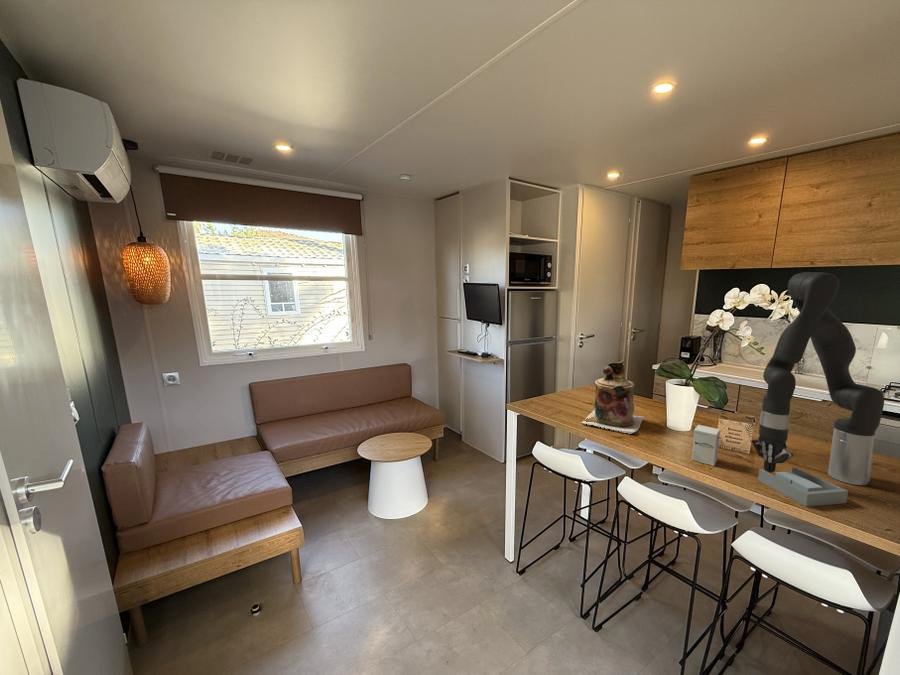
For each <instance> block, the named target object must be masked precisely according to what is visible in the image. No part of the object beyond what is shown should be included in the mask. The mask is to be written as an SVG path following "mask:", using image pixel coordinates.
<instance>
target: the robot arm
mask: <svg viewBox="0 0 900 675" xmlns="http://www.w3.org/2000/svg"><path fill="white" fill-rule="evenodd" d="M839 280H840V279H839V278H838V277H837V276H836V275H835V274H833V273H830V272H814V271H812V272H811V271H804V272H799V273H796V274H794V275H793V276H792V277H791V278H790V279H789V281H788V282H787V291H788V292H787V293H788V295H789V296H790V299H791V300H792V302H793V304H794V305H795V307H796V309H797V310H798V312H799V313H798V315H797V316H796V317H795V318H794V320H793V321H792V322H791V323H789V325H788V326H787V327H786V328H785V329H784V330H783V332H782V333H781V334H780V336H779V338H778V340H777V344H776V346H775V349H774V351H773V355H772V356H771V358H770V359H769V361H768V363H767V365H766V367H765V369H764V371H763V376H762V377H763V380H764V382H765V384H767V388H766V389H767V391H766V394H765V395H764V396H763V399H762V407H761V412H760V416H759V425H758V426H759V427H758V435H759V436H758V438H756V439H752V440H751V443H752V446H753V447H754V449H755V451H756V453H757V455H758V457H760V458H762V459H763V460H764V462H763V470H764V471H766V472H768V473H770V474H772V473H774V472H775V471H776V468H777V467H776V466H777V464H783V463H784V462H786V461H788V460H790V459H791V458H793V457H794V454H793V453H792V452H789V451H788V450H787V444H786V442H787V440H788V436H789V429H790V427H789V426H790V410H791V400H792V399H793V396H794V393H795V389H796V386H797V385H796V383H797V382H796V377H795V375H794V374H793V373H792V372H793V369H794V367H795V365H796V364H799V363H800V362H801V360H802V358H803V356H804V353H805V351H806V348H807V346H808V343H809V341H810V340H811V343H812V346H813V348H814V350H815V353H816V355H817V357H818V359H819V362H820V364H821V368H822V370H823V374H824V376H825V380H826V385H827V389H828V393H829V396H830V399H831V401H832V402H833V404H834V405H836V406H837V407H840V408H841V409H845V410H848V411H851V414H850V417H849V418H844V417H843V418H837V419H835V420H834V424H833V433H832V439H831V440H832V442H831V449H830V455H829V456H830V457H829V464H828V471H827V472H828V473H827V474H828V475H829V476H830V477H831V478H833V479H835V480H836V481H840V482H843V483H846V484H850V485H857V486H867V485H868V483H870V481H871V478H872V477H871V476H872V468H873V462H874V455H873V449H874V442H875V435H876V431H877V429H878V428H879V426H880V423H881V419H882V415H883V410H884V406H885V397H884V394H883V392H882V391H881V390H880V389H877V388H875V387H872V386H867V385H863V384H860V383H856V382H855V381H854V380H853V378H852V376H851V373H850V369H849V368H850V365H851V363H852V361H854V357H855V356H856V352H857V348H856V344H855V341H854V339H853V337H852V333H851V332H850V330H849V329H848V327H847V326H846V324H844V323H843V322H842V321H841V320H840V319H839V318H838V317H837V316H836V315H835V314H834V313H833V312H831V310H830V309H829V306H830V305H831V304H832V302H833V301H834V300H835V297H836V296H837V293H838V291H839V288H840V281H839Z"/></svg>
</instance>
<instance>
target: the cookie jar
mask: <svg viewBox="0 0 900 675" xmlns="http://www.w3.org/2000/svg"><path fill="white" fill-rule="evenodd" d="M624 362H625V360H624V359H623V360H621V361H618V362H617V361H612V362H610V363H608V364H606V366H605V367H604V368H603V370H602V373H603V374H604V375H605V376H604V377H602V378H598V379H596V380H595V381H594V385H595V391H594V392H595V393H594V394H595V395H594V402H593V410H592V411H591V412H590V414H589V415H587V416H586V418H585V420H586V419H587V418H588V419H589V418H591V417H594V418H595V421H596V422H597V423H596V422H595V423H594V422H586V421H584V420H583V421H581V424H582V423H583V424H582V425H586V424H587V426H591V425H593V426H595V427H596V428H600V427H601V428H600V429H604V428H605V430H608V429H610V431H613V430H614V431H613V432H618V431H619V432H618V433H624V434H626V433H628V434H627V435H631V434H634V433H636V432H638V431H639V429H640V428H641V425H642V421H643V420H644V418H645V416H643V415H642V416H641V415H634V413H635V412H634V411H635V405H634V393H633V390H634V388H635V383H634V382H632V381H630V380H627V379H626V378H624V377H625V376H624V374H625V371H626V369H625V365H624Z"/></svg>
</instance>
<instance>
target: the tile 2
mask: <svg viewBox="0 0 900 675" xmlns="http://www.w3.org/2000/svg"><path fill="white" fill-rule="evenodd" d="M791 484H792V485H794V486H796V487H798V488H800V489H802V490H804V491H806V492H811V491H822V489H823V487H821V486H819V485H817V484H815V483H813V482H811V481H809V480H807V479H797V480H792V482H791Z"/></svg>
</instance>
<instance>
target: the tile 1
mask: <svg viewBox="0 0 900 675" xmlns="http://www.w3.org/2000/svg"><path fill="white" fill-rule="evenodd" d="M774 476H776V477H778V478H780V479H782V480H784V481H786V482H788V483H790V484H791V482H792V480H797V479H804V478H802V477H800V476H798V475H796V474H794V473H792V471H789V470H787V471H776V472H775V475H774Z"/></svg>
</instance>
